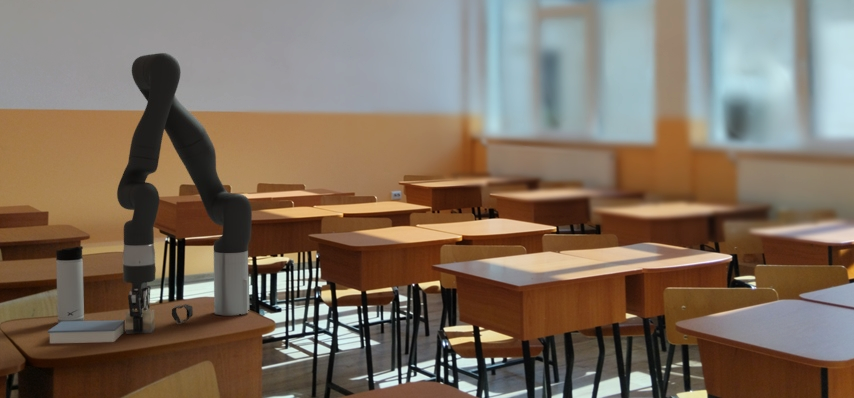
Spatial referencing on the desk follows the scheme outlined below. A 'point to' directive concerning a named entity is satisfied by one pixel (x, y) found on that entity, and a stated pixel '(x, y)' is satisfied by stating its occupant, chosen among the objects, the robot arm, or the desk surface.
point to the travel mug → (70, 284)
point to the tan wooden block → (147, 322)
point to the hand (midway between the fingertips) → (140, 329)
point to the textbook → (87, 331)
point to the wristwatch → (189, 313)
